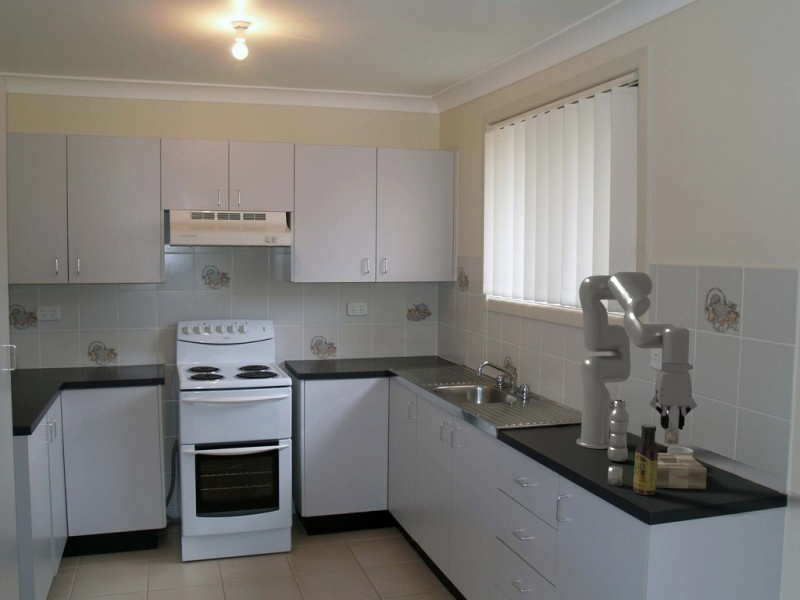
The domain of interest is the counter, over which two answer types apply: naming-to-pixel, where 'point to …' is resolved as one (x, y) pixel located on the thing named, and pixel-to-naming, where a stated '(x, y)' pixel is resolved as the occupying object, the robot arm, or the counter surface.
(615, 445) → the plastic bottle
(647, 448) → the sauce bottle
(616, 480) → the short pin
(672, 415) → the long pin
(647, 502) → the counter surface
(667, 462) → the hole block
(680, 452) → the teacup
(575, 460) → the counter surface
